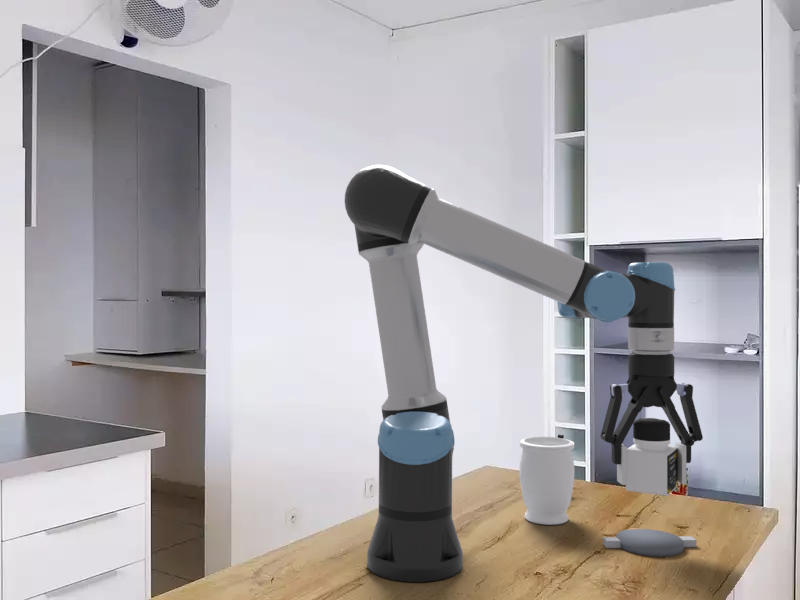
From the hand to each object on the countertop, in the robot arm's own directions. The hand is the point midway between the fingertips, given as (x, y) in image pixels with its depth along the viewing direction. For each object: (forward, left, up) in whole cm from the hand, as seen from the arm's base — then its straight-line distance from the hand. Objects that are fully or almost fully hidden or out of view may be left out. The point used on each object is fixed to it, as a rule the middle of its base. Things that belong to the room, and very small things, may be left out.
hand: (651, 482), depth 132 cm
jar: (-14, +16, -11) cm, 24 cm away
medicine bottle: (0, 0, -1) cm, 1 cm away
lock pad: (0, +1, -11) cm, 11 cm away
